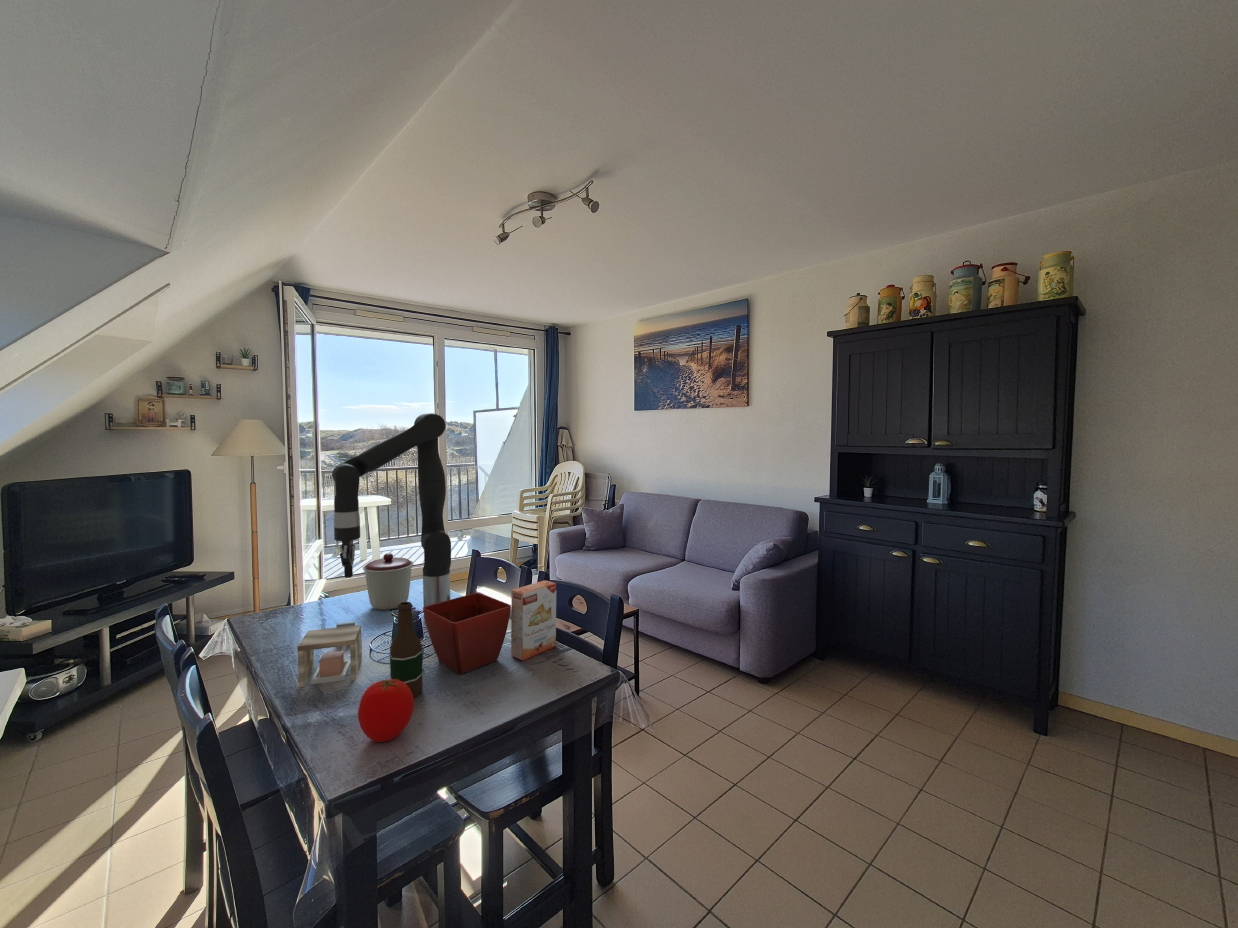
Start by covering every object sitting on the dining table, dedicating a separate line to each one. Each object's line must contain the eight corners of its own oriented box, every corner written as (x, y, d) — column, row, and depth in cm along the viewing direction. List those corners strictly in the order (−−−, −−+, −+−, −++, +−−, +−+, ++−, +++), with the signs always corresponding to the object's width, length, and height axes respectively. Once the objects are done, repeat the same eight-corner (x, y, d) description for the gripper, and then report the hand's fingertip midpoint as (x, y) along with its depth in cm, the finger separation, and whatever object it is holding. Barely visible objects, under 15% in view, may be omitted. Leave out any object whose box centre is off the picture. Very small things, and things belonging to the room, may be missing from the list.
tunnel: (309, 673, 141) (308, 630, 140) (362, 666, 145) (361, 624, 144) (299, 692, 130) (297, 646, 130) (356, 683, 135) (354, 639, 134)
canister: (417, 608, 193) (416, 555, 192) (365, 617, 184) (363, 561, 183) (410, 595, 209) (409, 546, 207) (362, 602, 200) (361, 551, 198)
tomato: (347, 745, 108) (345, 688, 108) (386, 718, 118) (385, 666, 118) (386, 757, 104) (385, 698, 104) (423, 728, 114) (422, 674, 114)
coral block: (344, 667, 141) (343, 650, 141) (340, 675, 136) (340, 658, 136) (324, 670, 139) (323, 653, 139) (319, 678, 134) (319, 660, 134)
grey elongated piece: (332, 647, 157) (331, 624, 156) (360, 643, 159) (360, 620, 159) (311, 687, 132) (310, 660, 131) (345, 682, 134) (344, 655, 134)
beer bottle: (402, 703, 125) (400, 610, 124) (384, 695, 129) (381, 604, 128) (429, 690, 132) (427, 601, 130) (410, 682, 136) (408, 596, 134)
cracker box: (523, 662, 148) (523, 593, 147) (510, 656, 152) (509, 589, 151) (557, 646, 159) (557, 582, 158) (544, 641, 163) (544, 578, 162)
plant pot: (422, 661, 148) (421, 606, 147) (478, 642, 162) (478, 591, 161) (454, 683, 135) (453, 623, 134) (513, 660, 149) (512, 605, 148)
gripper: (356, 527, 157) (358, 581, 158) (363, 520, 170) (364, 570, 171) (329, 529, 155) (331, 583, 156) (338, 522, 167) (339, 572, 168)
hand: (348, 576), depth 163 cm, fingers closed
